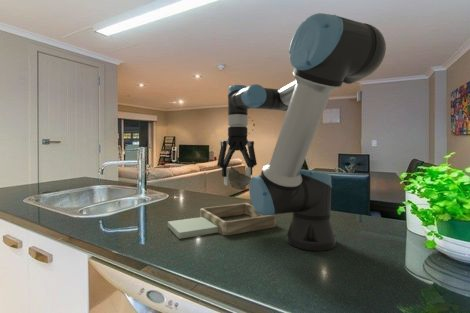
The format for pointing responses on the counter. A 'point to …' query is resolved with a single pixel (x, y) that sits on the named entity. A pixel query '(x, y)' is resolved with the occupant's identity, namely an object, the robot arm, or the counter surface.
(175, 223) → the ledge
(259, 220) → the wooden tray
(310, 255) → the counter surface
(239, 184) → the rock
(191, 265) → the counter surface
